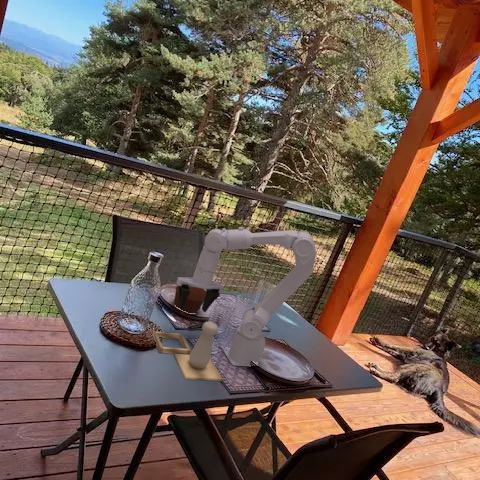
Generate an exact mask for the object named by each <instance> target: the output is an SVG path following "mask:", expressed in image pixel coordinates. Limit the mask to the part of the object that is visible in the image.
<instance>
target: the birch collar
mask: <svg viewBox="0 0 480 480" xmlns="http://www.w3.org/2000/svg"><path fill="white" fill-rule="evenodd" d="M152 335H153V337H154V339H155V342H156V344H155V346H156V348H157V351H158V353H160V354H168V355H169V354H170V355H172V354H173V355H174V354H184V355H190V353H191V351H192V350H191V348H190V346H189V345H188V342H187V341H186V339H185V337H184V335H183V334H182V333H176V332H175V333H174V332H164V331H157V330H155V331H154V330H153V331H152V334H151V336H152ZM153 337H152V338H153ZM159 337H162V338H159ZM154 339H153V340H154ZM161 339H171V340H178V341H179V343H180V345H181V347H182V348H181V347H180V348H179V347H167V346H163V344H162V342H161ZM155 342H154V343H155Z"/></svg>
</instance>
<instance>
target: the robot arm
mask: <svg viewBox="0 0 480 480" xmlns="http://www.w3.org/2000/svg"><path fill="white" fill-rule="evenodd" d="M253 245H270V246H271V245H278V246H279V245H280V246H281V247H283V248H284V249H286V250H287V251H290V249H292V253H293V255H294V259H295V266H294V267H293V268H292V269H291V270H290V271H289V272H287V274H286V275H285V276H284V277H283V278H282V279H281V280H280V281H279V282H278V283H277V284H276V286H274V288H272V290H270V292H269V293H268V294H267V295H266V296H265V297H264V298H263V299H262V300H261V301H260V302H258V303H256V304H254V306H252V307H251V308H248V309H246V310H245V311H244V313H242V321H241V324H240V325H239V326H238V327H237V328H236V332H235V334H234V337H233V339H232V342H231V345H230V348H229V349H223V351H222V352H223V353H224V355H225V356H226V358H227V359H228V361H229V362H230V364H231V365H232V366H234V367H235V366H236V367H238V366H239V367H251V365H250V361H255V362H258V363H260V361H261V358H262V356H263V353H264V351H265V347H266V339H265V336H264V335H263V334H262V331H263V329H264V327H265V326H266V325H267V324H268V322H269V320H270V319H271V317H272V315H273V314H274V313H275V312H277V310H278V309H279V308H280V307H282V305H283V304H284V303H285V302H286V301H287V300H288V299H289V298H290V297H291V296H292V295H293V294H294V293H295V292H296V291H297V290H298V289H299V288H300V286H301V285H302V284H304V283H305V282H306V281H307V279H308V278H310V276H311V275H312V274H313V271H314V266H315V262H316V257H317V251H316V250H317V249H316V244H315V242H314V238H313V236H312V235H311V233H309V232H308V231H307V230H299V231H297V230H294V229H291V230H278V231H276V230H275V231H264V232H261V231H260V232H251V231H250V230H249V229H248V228H244V226H240V227H239V226H238V229H226V227H224V228H222V229H219V228H213V229H211V230H210V231H209V232H208V233H207V234H206V236H205V238H204V245H203V247H202V250H201V252H200V255H199V258H198V261H197V263H196V267H195V270H194V273H193V276H192V277H191V276H190V277H183V276H181V277H180V276H178V277H177V279H176V285H177V286H178V288H179V308H180V309H182V310H183V308H184V305H185V302H186V299H187V297H188V295H189V294H190V291H189V288H188V287H189V286H190V287H196V288H203V289H204V290H206V291H205V293H206V296H205V300H204V302H203V304H202V306H201V310H202V312H204V313H207V311H208V309H209V308H210V306H211V305H212V304H213V303H214V302H215V301H216V300H217V299H218V298H220V296H221V295H220V294H221V293H222V292H223V290H224V288H225V286H224V285H223V284H222V283H220V282H219V283H218V282H215V281H213V279H214V276H215V274H216V270H217V268H218V264H219V261H220V259H221V252H222V250H223V249H224V250H227V251H228V250H248V249H250V247H251V246H253Z"/></svg>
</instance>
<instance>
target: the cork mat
mask: <svg viewBox="0 0 480 480" xmlns="http://www.w3.org/2000/svg"><path fill="white" fill-rule="evenodd" d="M189 356H190V355H184V354H173V357H174V359H175V361H176V363H177V365H178V367H179V369H180V372H181V373H182V375H183V377H184V380H191V381H192V380H193V381H195V380H196V381H218V382H219V381H220V382H223V380H224V378H223V377H222V375H221V373H220V371H219V370H218V369H217V367H216V365H215V364H214V362H213V359H211V357H210V361H209V363H208V364H207V365H206V366H205V367H204V368H203V369H197V368H194V367H192V365H191V364H190V358H189Z"/></svg>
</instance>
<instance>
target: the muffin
mask: <svg viewBox="0 0 480 480" xmlns="http://www.w3.org/2000/svg"><path fill="white" fill-rule="evenodd" d="M188 288H189V291H190V294H189V295H188V297H187V299H186V302H185V305H184V308H183V311H186V312H188V313H197V311H198V310H199V311H200V309H202V305H203V302H204V300H205V296H206V291H205V289H203V288H196V287H190V286H189V287H188ZM174 304H175V305H176V307H178V308H179V288H178V285H177V286H176V287H175V295H174V300H173V305H174ZM181 310H182V309H181ZM199 311H198V312H199ZM197 314H198V313H197Z"/></svg>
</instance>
